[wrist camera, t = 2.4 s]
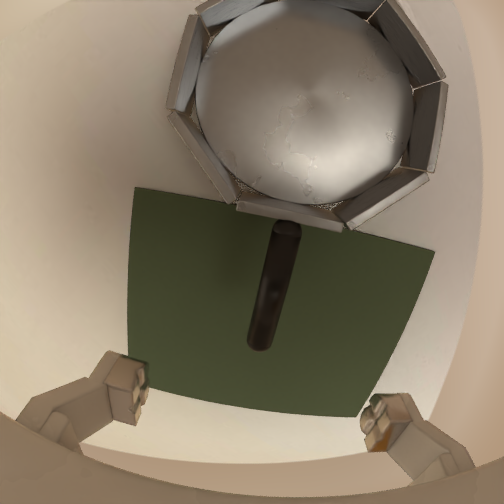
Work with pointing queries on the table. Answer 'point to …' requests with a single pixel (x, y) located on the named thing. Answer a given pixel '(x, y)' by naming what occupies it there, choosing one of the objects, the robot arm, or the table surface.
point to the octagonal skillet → (306, 118)
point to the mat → (243, 299)
